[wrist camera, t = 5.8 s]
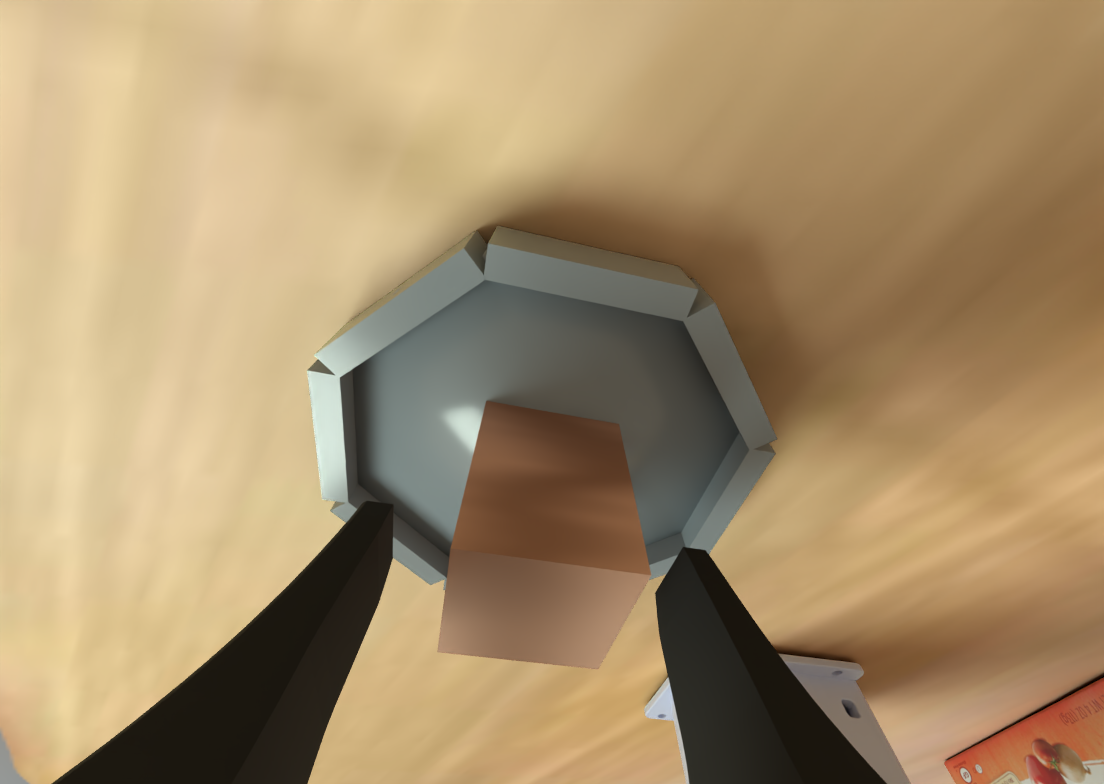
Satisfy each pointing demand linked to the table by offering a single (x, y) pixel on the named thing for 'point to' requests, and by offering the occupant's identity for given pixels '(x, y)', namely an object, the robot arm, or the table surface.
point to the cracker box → (1042, 746)
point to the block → (543, 542)
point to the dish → (537, 388)
